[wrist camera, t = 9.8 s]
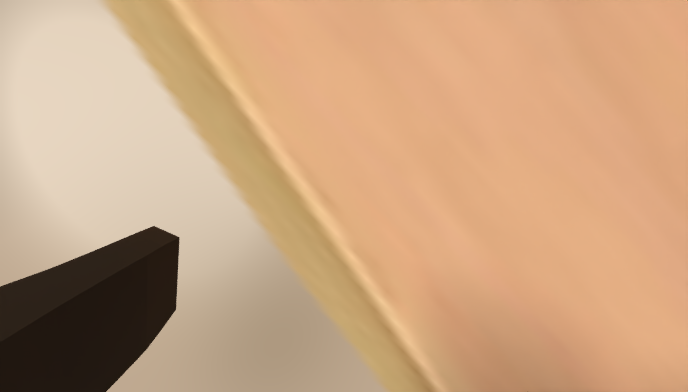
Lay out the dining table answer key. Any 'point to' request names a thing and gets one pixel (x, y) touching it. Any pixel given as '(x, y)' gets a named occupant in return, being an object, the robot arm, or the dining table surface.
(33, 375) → the robot arm
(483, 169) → the dining table surface
